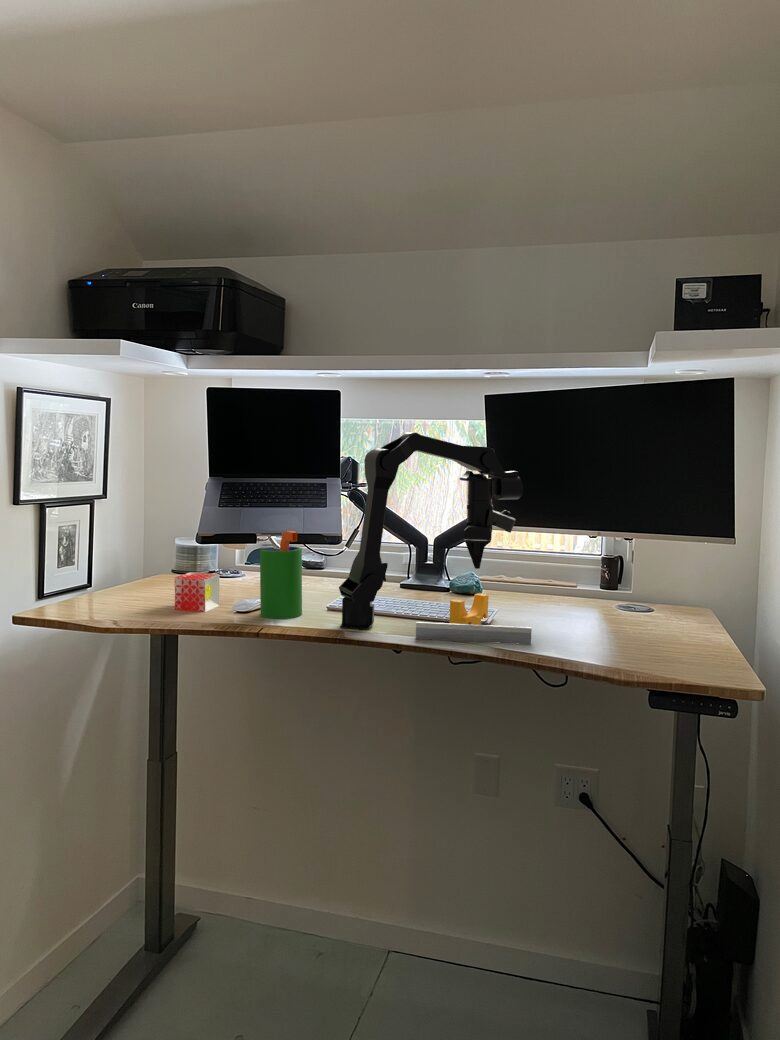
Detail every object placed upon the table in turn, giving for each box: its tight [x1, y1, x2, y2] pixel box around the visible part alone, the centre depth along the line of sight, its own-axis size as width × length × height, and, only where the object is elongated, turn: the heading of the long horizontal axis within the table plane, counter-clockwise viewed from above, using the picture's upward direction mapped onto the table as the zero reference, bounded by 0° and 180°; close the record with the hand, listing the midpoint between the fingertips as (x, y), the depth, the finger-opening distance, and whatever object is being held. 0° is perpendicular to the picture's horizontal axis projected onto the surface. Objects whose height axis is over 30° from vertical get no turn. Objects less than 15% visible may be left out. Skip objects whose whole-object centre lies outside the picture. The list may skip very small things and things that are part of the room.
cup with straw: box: [259, 530, 303, 620], centre depth 187 cm, size 10×9×20 cm
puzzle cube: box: [174, 571, 220, 613], centre depth 193 cm, size 8×8×8 cm
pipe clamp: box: [448, 593, 489, 625], centre depth 181 cm, size 12×4×6 cm, turn 141°
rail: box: [415, 621, 533, 645], centre depth 167 cm, size 24×2×4 cm, turn 83°
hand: (477, 565), depth 189 cm, fingers open, 9 cm apart
